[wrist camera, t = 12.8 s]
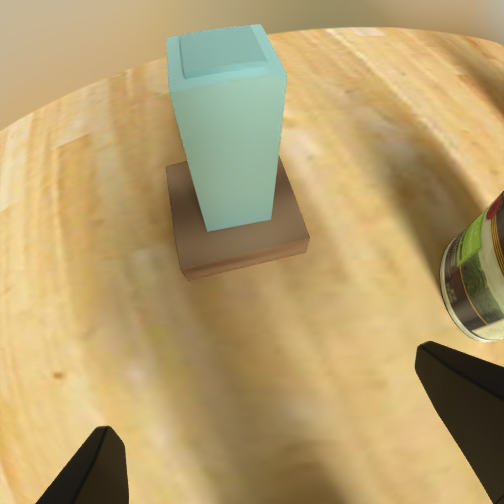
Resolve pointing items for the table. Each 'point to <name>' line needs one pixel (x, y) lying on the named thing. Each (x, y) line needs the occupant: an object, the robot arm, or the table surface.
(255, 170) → the pale teal tapered block
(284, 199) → the walnut block
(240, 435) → the table surface
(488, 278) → the coffee can
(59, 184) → the table surface
